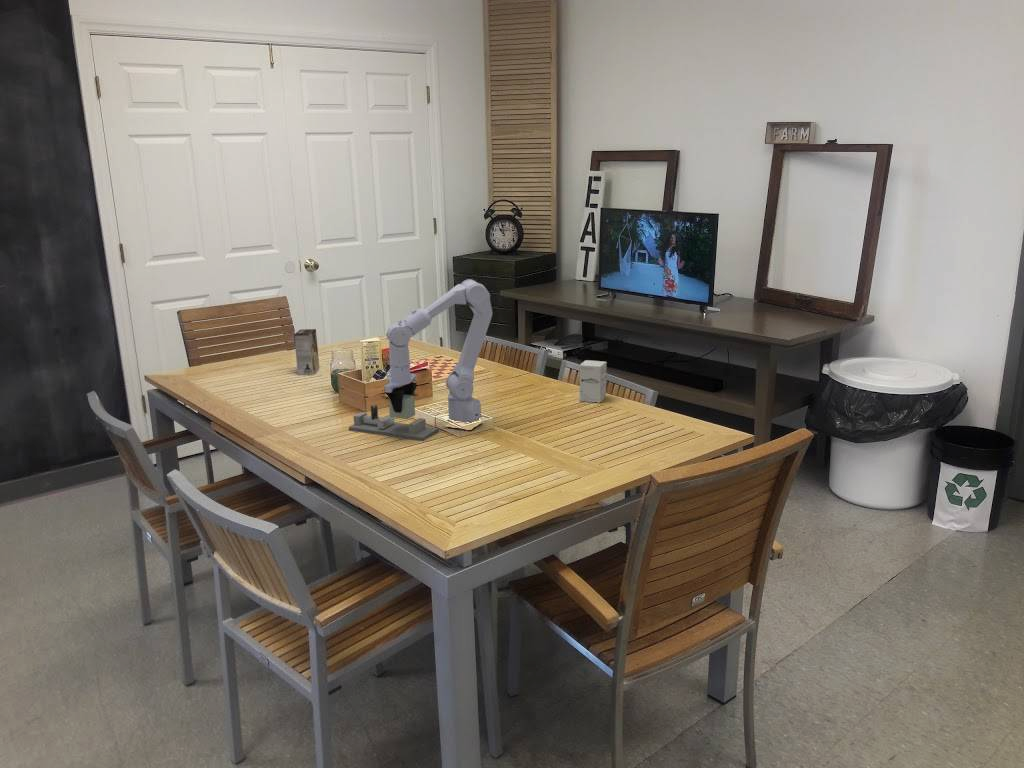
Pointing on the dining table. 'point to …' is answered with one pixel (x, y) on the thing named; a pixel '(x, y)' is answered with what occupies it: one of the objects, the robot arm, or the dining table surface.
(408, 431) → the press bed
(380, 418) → the ram
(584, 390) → the supplement box
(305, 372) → the coffee box
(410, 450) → the dining table surface
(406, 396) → the block
